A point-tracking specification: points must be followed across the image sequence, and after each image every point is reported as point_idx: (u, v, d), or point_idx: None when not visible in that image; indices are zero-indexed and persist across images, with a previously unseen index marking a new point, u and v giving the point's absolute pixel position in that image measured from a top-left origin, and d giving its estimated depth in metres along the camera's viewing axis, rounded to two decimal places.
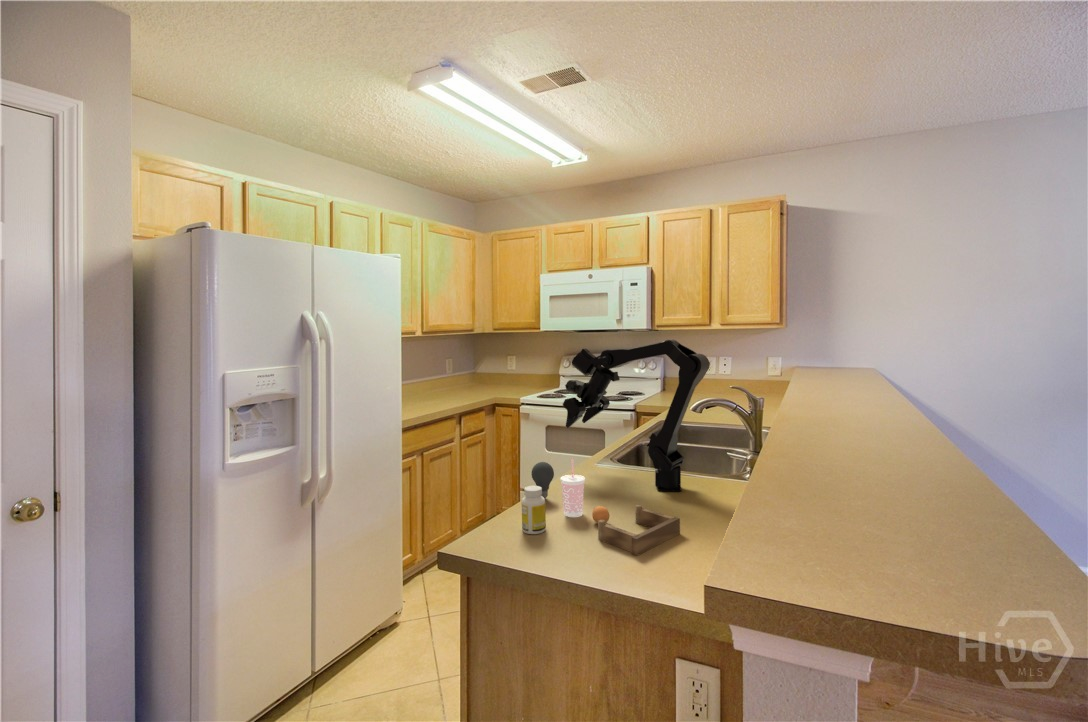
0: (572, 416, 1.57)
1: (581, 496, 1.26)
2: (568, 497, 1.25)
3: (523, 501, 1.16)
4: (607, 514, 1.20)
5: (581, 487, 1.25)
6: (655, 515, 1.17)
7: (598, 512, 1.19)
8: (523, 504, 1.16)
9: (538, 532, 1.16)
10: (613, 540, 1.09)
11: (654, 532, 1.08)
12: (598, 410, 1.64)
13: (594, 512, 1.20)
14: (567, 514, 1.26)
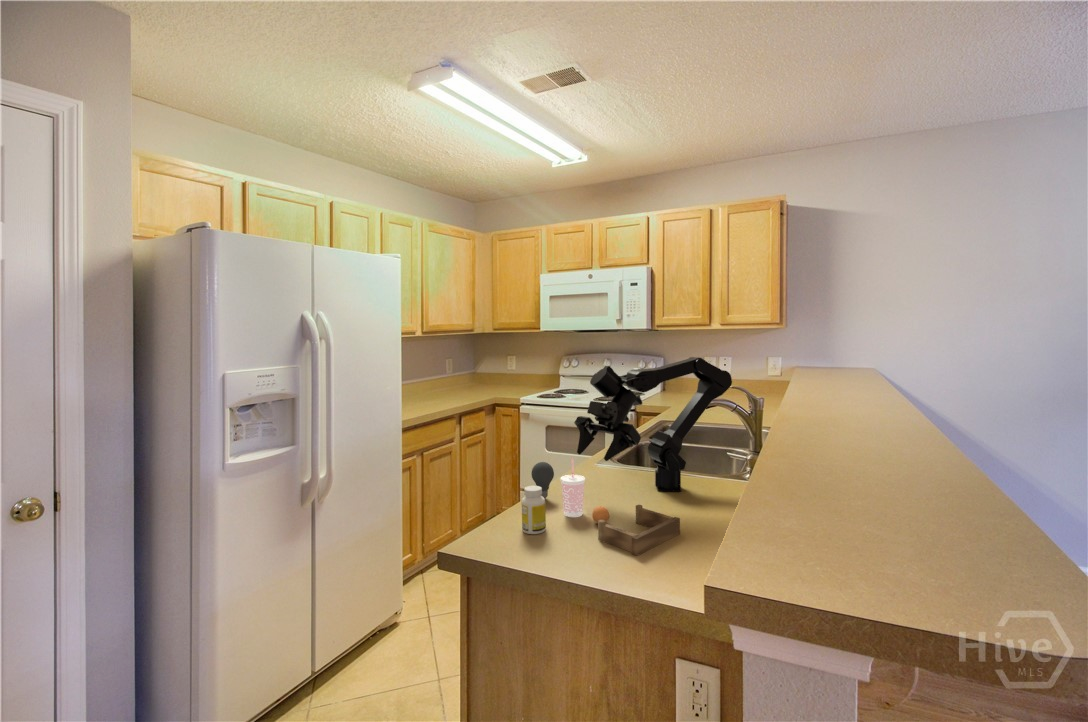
0: (618, 446, 1.30)
1: (581, 496, 1.26)
2: (568, 497, 1.25)
3: (523, 501, 1.16)
4: (607, 514, 1.20)
5: (581, 487, 1.25)
6: (655, 515, 1.17)
7: (598, 512, 1.19)
8: (523, 504, 1.16)
9: (538, 532, 1.16)
10: (613, 540, 1.09)
11: (654, 532, 1.08)
12: (592, 438, 1.39)
13: (594, 512, 1.20)
14: (567, 514, 1.26)
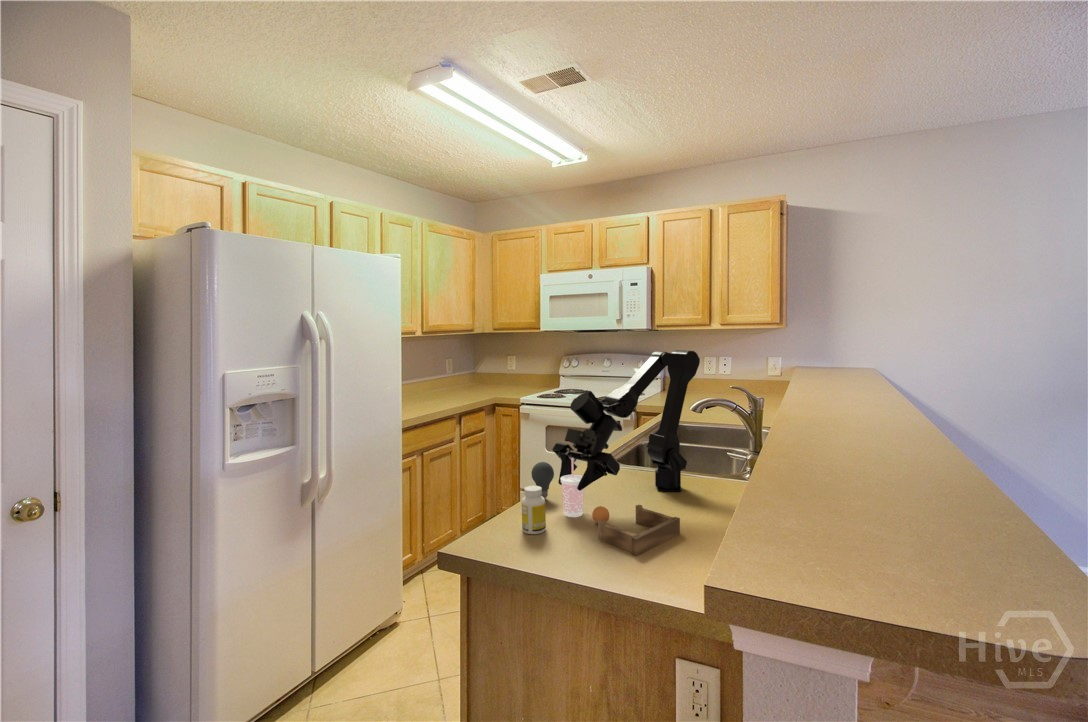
0: (592, 474, 1.25)
1: (581, 496, 1.26)
2: (568, 497, 1.25)
3: (523, 501, 1.16)
4: (607, 514, 1.20)
5: None
6: (655, 515, 1.17)
7: (598, 512, 1.19)
8: (523, 504, 1.16)
9: (538, 532, 1.16)
10: (613, 540, 1.09)
11: (654, 532, 1.08)
12: (575, 466, 1.33)
13: (594, 512, 1.20)
14: (567, 514, 1.26)
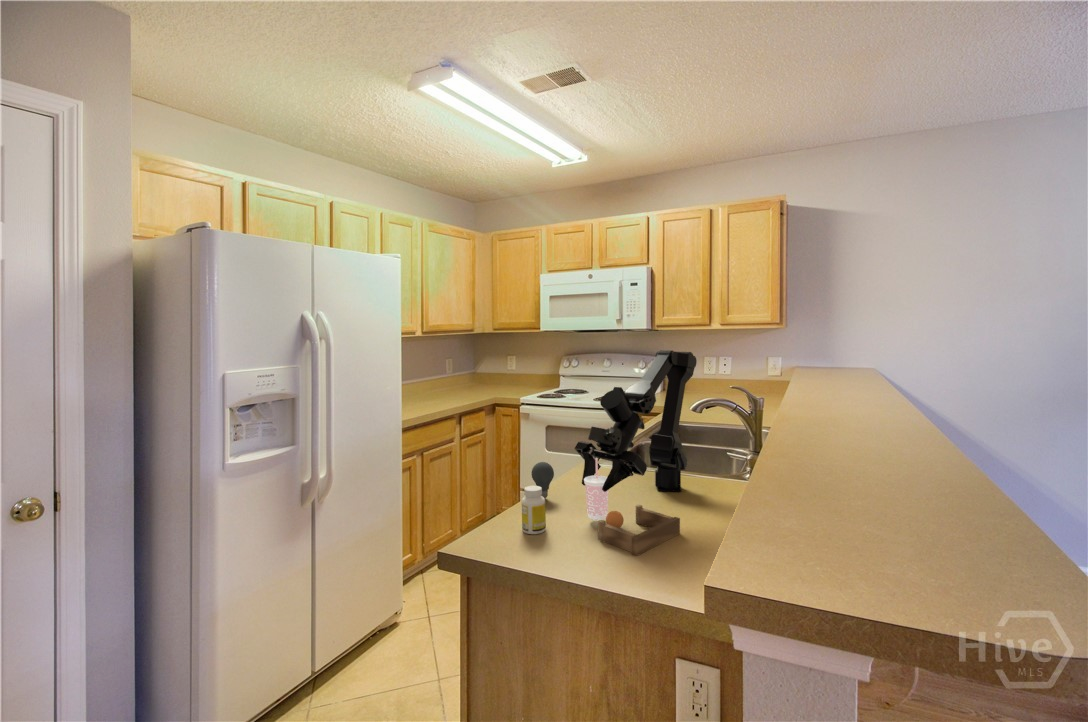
0: (617, 475, 1.19)
1: (606, 498, 1.20)
2: (592, 499, 1.19)
3: (523, 501, 1.16)
4: None
5: None
6: (655, 515, 1.17)
7: None
8: (523, 504, 1.16)
9: (538, 532, 1.16)
10: (613, 540, 1.09)
11: (654, 532, 1.08)
12: (599, 466, 1.27)
13: (613, 523, 1.16)
14: (591, 517, 1.20)
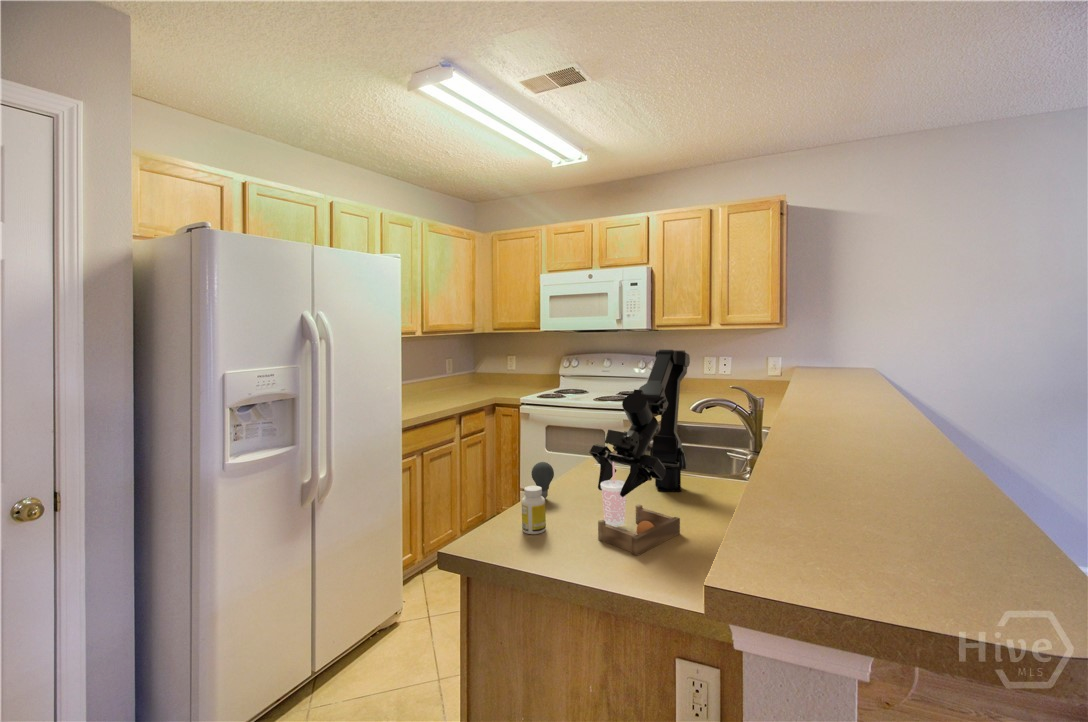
0: (635, 479, 1.16)
1: (623, 503, 1.16)
2: (609, 505, 1.16)
3: (523, 501, 1.16)
4: None
5: None
6: (655, 515, 1.17)
7: (644, 527, 1.10)
8: (523, 504, 1.16)
9: (538, 532, 1.16)
10: (613, 540, 1.09)
11: (654, 532, 1.08)
12: None
13: (639, 527, 1.11)
14: (608, 523, 1.17)
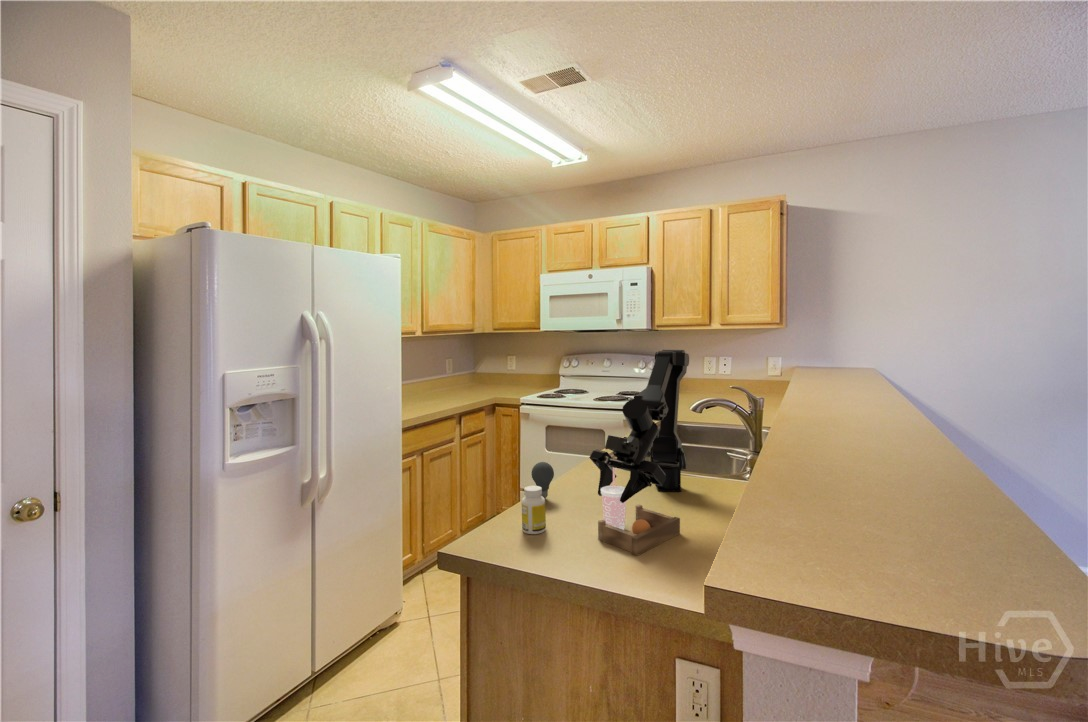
0: (635, 485, 1.16)
1: (623, 509, 1.16)
2: (609, 510, 1.16)
3: (523, 501, 1.16)
4: (646, 523, 1.12)
5: None
6: (655, 515, 1.17)
7: (636, 524, 1.12)
8: (523, 504, 1.16)
9: (538, 532, 1.16)
10: (613, 540, 1.09)
11: (654, 532, 1.08)
12: None
13: (633, 527, 1.12)
14: None
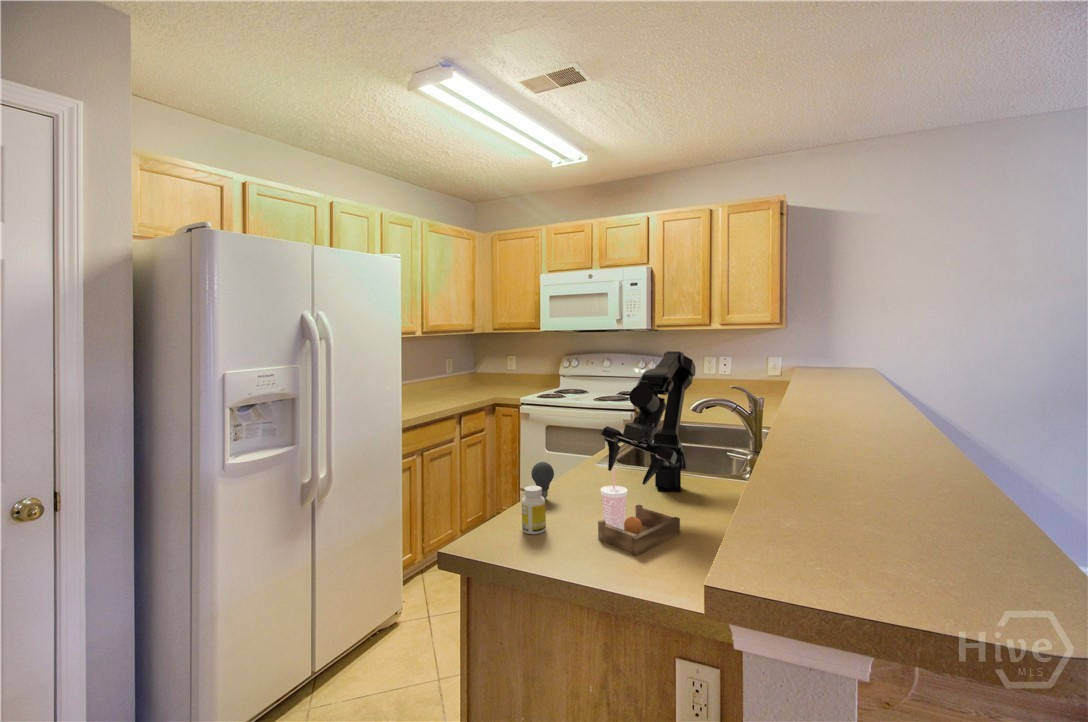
0: (655, 468, 1.25)
1: (623, 509, 1.16)
2: (609, 510, 1.16)
3: (523, 501, 1.16)
4: (630, 517, 1.15)
5: (624, 499, 1.16)
6: (655, 515, 1.17)
7: (624, 524, 1.14)
8: (523, 504, 1.16)
9: (538, 532, 1.16)
10: (613, 540, 1.09)
11: (654, 532, 1.08)
12: (619, 447, 1.33)
13: (625, 529, 1.14)
14: None
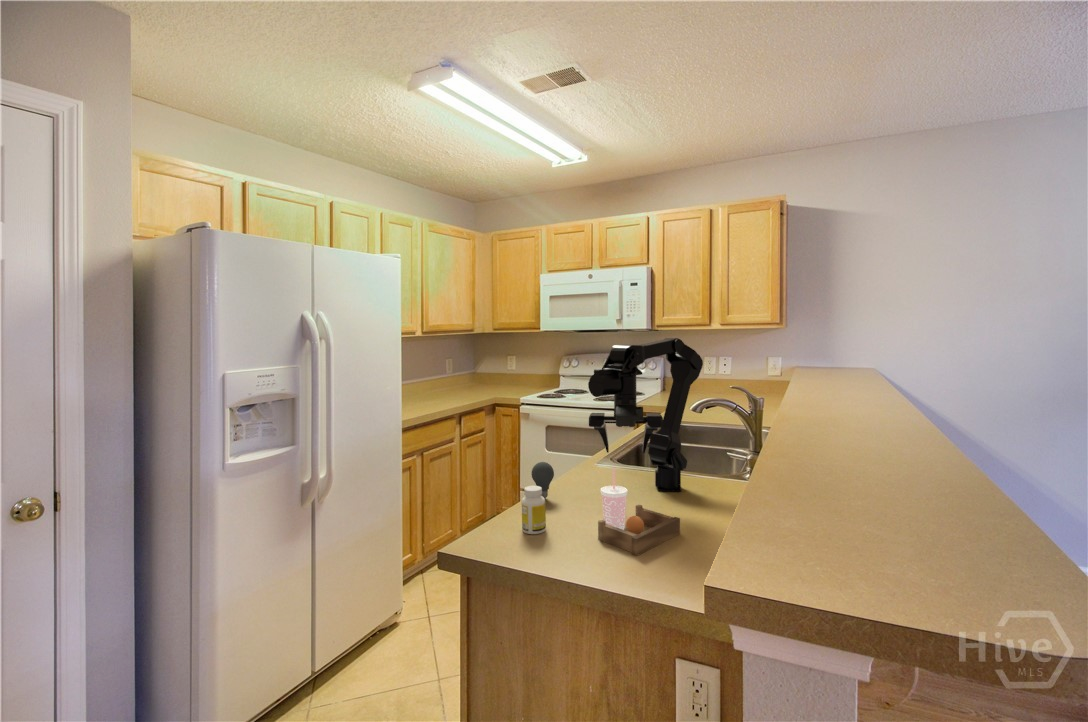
0: None
1: (623, 509, 1.16)
2: (609, 510, 1.16)
3: (523, 501, 1.16)
4: None
5: (624, 499, 1.16)
6: (655, 515, 1.17)
7: (627, 521, 1.15)
8: (523, 504, 1.16)
9: (538, 532, 1.16)
10: (613, 540, 1.09)
11: (654, 532, 1.08)
12: (605, 425, 1.37)
13: (626, 526, 1.14)
14: None
